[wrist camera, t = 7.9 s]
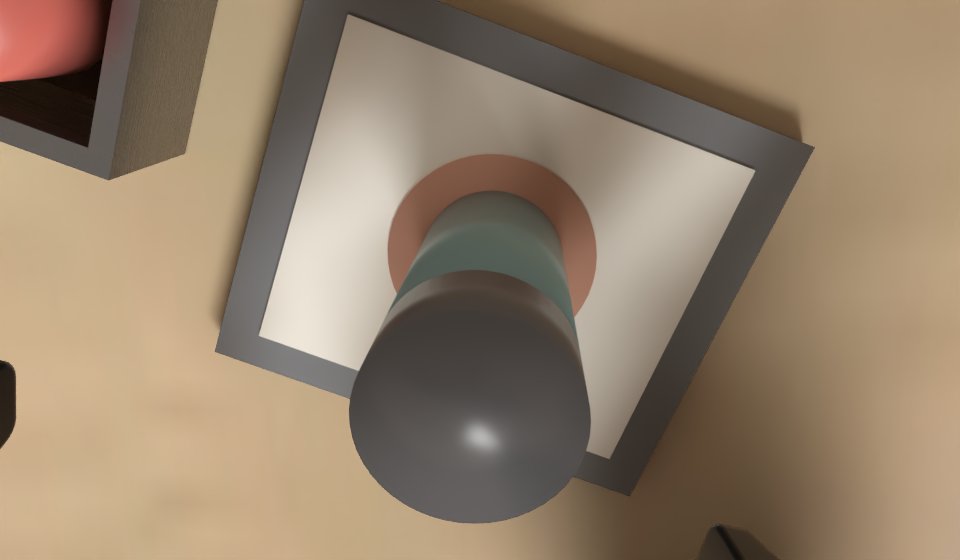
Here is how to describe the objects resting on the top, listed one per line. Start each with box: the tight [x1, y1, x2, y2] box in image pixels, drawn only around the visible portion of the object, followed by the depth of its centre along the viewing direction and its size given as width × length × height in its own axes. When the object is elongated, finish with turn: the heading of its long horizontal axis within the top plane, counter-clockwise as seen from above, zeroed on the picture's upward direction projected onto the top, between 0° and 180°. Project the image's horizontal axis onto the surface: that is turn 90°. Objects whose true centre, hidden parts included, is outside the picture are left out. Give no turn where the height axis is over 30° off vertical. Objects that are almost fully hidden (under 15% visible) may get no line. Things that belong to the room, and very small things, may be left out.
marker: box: [349, 191, 591, 523], centre depth 16 cm, size 4×4×9 cm
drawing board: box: [215, 0, 815, 496], centre depth 20 cm, size 14×12×1 cm
